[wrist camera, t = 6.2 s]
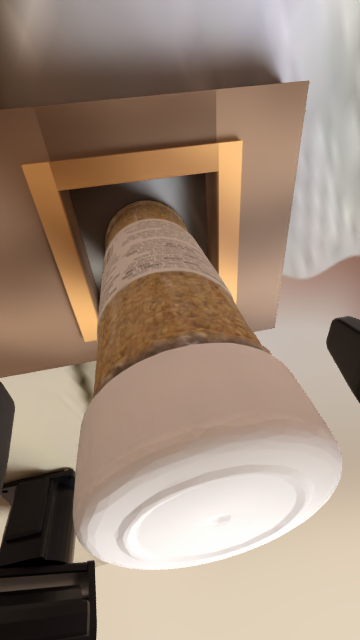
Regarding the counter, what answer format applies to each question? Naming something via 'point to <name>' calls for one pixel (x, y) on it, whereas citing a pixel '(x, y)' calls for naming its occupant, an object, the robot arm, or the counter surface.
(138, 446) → the sprinkles bottle
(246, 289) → the rail
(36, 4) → the counter surface
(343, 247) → the counter surface
